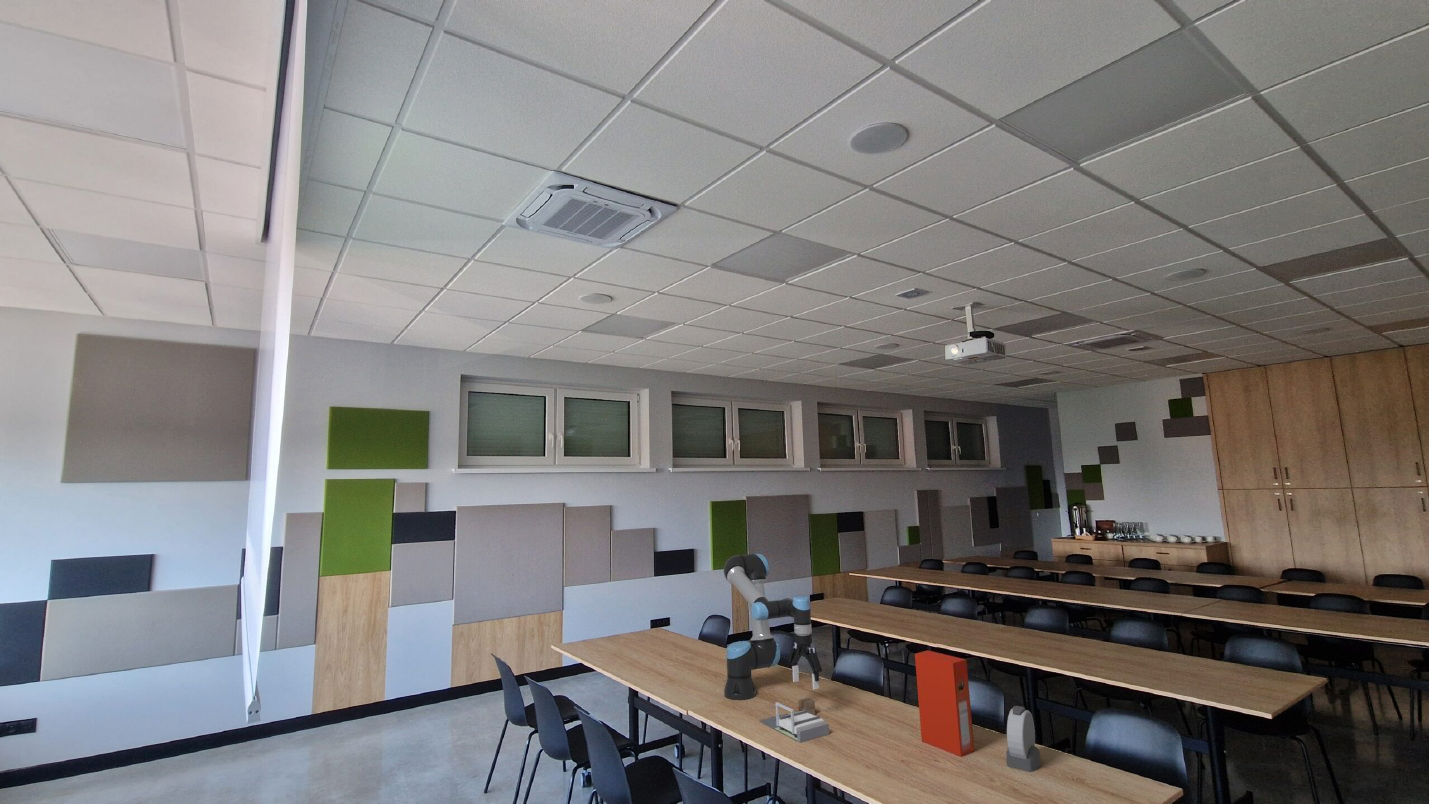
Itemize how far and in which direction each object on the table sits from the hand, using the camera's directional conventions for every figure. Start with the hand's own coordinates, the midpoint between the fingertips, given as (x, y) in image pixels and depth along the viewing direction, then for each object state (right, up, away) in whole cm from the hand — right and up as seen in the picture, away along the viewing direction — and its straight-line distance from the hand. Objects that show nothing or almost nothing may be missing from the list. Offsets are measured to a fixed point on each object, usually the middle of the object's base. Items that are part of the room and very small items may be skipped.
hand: (805, 685), depth 270 cm
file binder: (+47, -6, -38) cm, 61 cm away
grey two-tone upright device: (+68, -3, -54) cm, 86 cm away
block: (0, -12, -1) cm, 12 cm away
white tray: (-5, -10, -20) cm, 23 cm away
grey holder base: (-8, -10, -15) cm, 20 cm away
